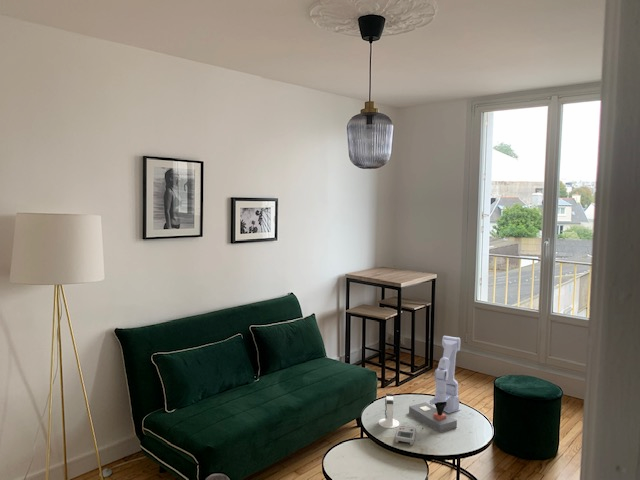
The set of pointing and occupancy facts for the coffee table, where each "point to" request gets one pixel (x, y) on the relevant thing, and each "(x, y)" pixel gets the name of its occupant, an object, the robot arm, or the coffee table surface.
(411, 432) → the handheld gaming device
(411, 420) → the coffee table surface
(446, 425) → the console
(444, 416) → the red plug
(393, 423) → the white post stand
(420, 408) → the plug
